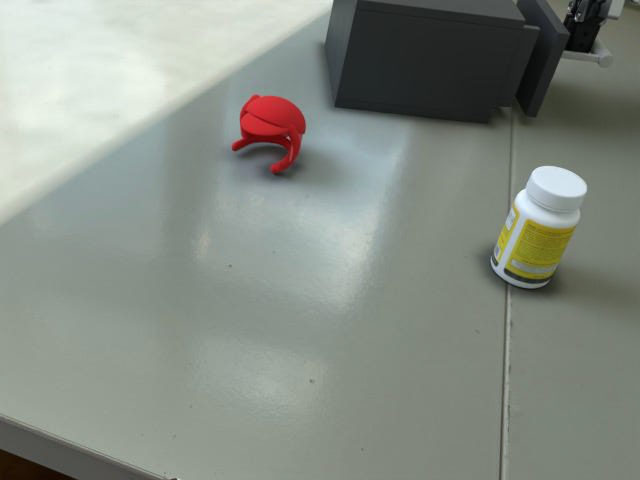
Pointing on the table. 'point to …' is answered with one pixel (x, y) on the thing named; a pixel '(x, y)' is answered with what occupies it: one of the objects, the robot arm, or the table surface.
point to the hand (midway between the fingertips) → (568, 55)
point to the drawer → (541, 57)
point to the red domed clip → (272, 126)
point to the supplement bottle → (539, 227)
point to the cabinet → (422, 55)
